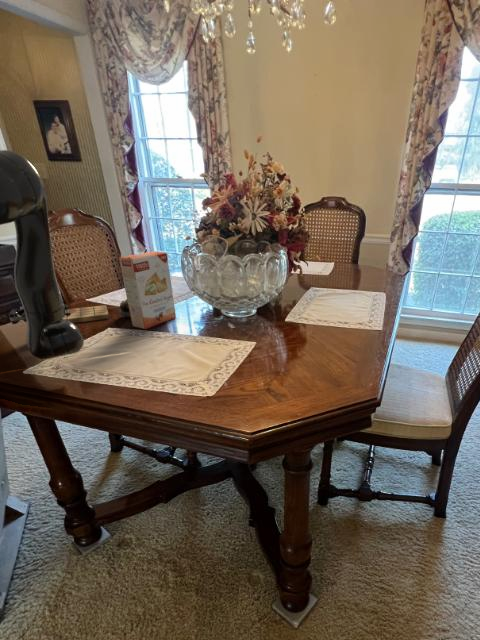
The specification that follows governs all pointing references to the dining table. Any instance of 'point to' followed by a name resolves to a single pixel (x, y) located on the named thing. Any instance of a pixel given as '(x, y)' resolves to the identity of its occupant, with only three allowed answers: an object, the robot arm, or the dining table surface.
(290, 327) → the dining table surface
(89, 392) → the dining table surface
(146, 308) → the cracker box
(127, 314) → the bison figurine
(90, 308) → the grid board
